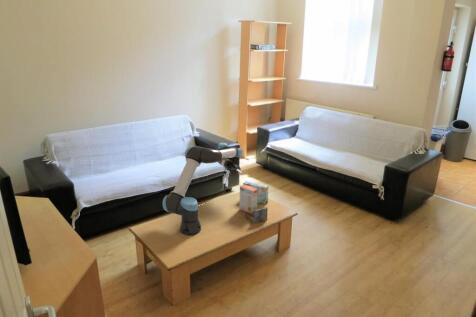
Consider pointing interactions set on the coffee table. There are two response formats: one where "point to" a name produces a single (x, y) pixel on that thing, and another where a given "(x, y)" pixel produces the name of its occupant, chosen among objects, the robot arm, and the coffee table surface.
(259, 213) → the bookend slot
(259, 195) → the snack box
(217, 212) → the coffee table surface
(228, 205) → the coffee table surface
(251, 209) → the cracker box
